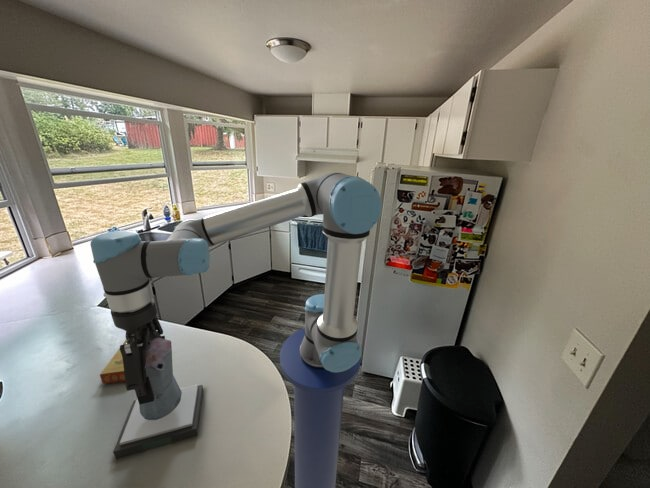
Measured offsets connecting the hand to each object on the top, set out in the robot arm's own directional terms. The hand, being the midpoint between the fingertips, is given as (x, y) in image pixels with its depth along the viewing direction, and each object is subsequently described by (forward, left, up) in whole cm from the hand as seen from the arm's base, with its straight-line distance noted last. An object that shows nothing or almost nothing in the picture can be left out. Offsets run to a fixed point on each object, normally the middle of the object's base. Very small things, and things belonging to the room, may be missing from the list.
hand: (154, 381), depth 60 cm
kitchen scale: (0, 0, -14) cm, 14 cm away
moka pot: (0, 0, -8) cm, 8 cm away
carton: (+15, -24, -14) cm, 32 cm away
